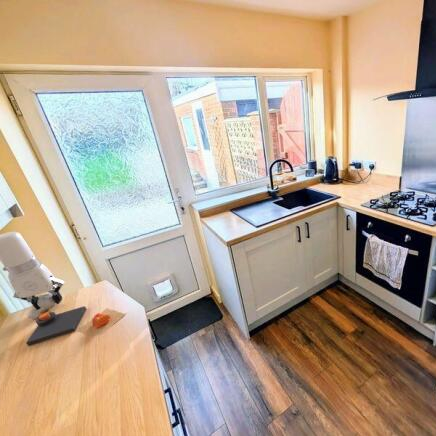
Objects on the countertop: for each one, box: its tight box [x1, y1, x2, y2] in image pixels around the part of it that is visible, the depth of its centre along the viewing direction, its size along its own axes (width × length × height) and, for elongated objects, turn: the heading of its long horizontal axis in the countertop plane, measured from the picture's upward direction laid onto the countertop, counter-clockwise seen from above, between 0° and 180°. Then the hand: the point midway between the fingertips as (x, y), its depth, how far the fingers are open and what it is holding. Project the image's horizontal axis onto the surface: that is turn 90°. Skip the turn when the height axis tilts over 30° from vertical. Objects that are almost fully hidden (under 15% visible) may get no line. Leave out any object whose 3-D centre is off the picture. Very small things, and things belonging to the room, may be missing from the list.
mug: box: [26, 294, 55, 320], centre depth 109 cm, size 8×10×10 cm
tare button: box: [38, 311, 50, 321], centre depth 101 cm, size 3×3×2 cm
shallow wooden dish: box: [77, 307, 126, 337], centre depth 99 cm, size 12×12×4 cm
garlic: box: [37, 293, 56, 308], centre depth 93 cm, size 6×5×5 cm
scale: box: [25, 306, 87, 347], centre depth 100 cm, size 15×14×4 cm
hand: (49, 304), depth 94 cm, fingers closed on garlic, 5 cm apart
